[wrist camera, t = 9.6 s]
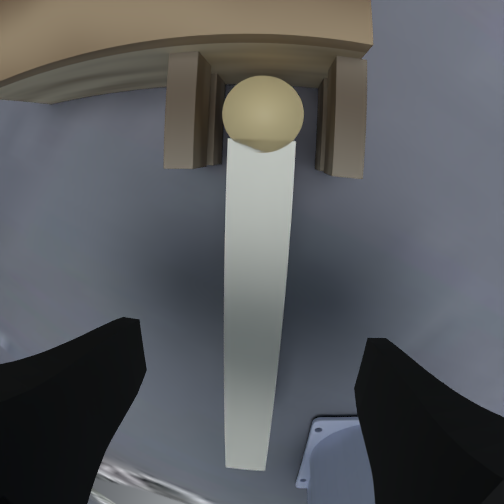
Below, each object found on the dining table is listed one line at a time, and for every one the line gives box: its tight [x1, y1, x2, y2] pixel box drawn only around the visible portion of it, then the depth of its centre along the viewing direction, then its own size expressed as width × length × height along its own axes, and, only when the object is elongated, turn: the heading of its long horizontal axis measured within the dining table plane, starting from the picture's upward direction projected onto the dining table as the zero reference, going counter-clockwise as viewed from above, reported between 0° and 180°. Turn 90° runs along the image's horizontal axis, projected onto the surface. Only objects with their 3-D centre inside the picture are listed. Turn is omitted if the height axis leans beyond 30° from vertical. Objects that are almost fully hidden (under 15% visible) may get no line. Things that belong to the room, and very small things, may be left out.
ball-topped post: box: [222, 76, 304, 471], centre depth 14 cm, size 17×2×6 cm, turn 178°
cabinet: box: [0, 0, 373, 179], centre depth 10 cm, size 12×16×7 cm
